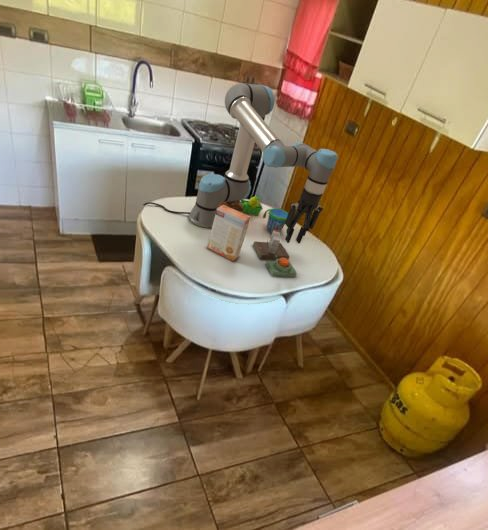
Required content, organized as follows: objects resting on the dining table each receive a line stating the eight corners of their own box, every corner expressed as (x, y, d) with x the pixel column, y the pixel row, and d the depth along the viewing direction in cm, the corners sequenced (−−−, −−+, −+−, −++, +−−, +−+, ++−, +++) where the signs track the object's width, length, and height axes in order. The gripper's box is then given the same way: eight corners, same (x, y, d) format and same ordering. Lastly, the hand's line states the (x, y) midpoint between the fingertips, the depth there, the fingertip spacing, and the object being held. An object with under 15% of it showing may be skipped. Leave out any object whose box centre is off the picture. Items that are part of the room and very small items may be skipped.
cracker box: (239, 256, 170) (251, 216, 158) (232, 262, 166) (245, 221, 154) (213, 243, 176) (223, 203, 163) (206, 248, 171) (216, 207, 159)
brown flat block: (260, 260, 171) (262, 256, 169) (251, 244, 181) (253, 239, 180) (288, 262, 174) (290, 257, 173) (278, 245, 185) (280, 241, 183)
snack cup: (255, 224, 198) (261, 207, 192) (268, 220, 204) (274, 204, 198) (278, 240, 189) (285, 222, 184) (291, 235, 196) (297, 218, 190)
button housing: (272, 276, 163) (275, 268, 160) (266, 264, 169) (268, 257, 167) (295, 276, 165) (298, 269, 163) (288, 265, 172) (291, 258, 169)
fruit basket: (257, 210, 213) (263, 192, 206) (260, 218, 206) (267, 199, 199) (238, 207, 211) (243, 189, 204) (240, 215, 204) (246, 196, 197)
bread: (209, 201, 210) (213, 185, 205) (226, 201, 214) (231, 185, 209) (222, 218, 197) (227, 201, 191) (240, 218, 201) (245, 201, 195)
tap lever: (274, 254, 173) (280, 240, 168) (268, 252, 173) (273, 238, 168) (274, 244, 180) (279, 230, 175) (268, 243, 180) (273, 229, 176)
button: (280, 267, 163) (281, 263, 162) (276, 261, 166) (278, 257, 165) (289, 267, 164) (291, 263, 163) (285, 261, 167) (287, 257, 166)
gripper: (328, 188, 150) (307, 237, 163) (289, 184, 146) (270, 235, 159) (337, 197, 144) (314, 247, 157) (296, 193, 140) (276, 245, 153)
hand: (292, 241), depth 158 cm, fingers open, 4 cm apart
